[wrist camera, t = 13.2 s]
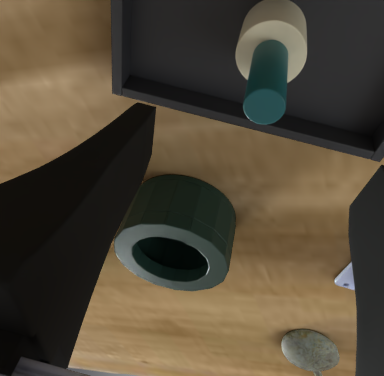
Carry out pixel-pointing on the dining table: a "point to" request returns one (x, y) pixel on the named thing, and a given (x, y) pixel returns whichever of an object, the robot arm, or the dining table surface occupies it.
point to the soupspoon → (310, 351)
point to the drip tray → (236, 83)
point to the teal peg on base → (270, 56)
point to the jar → (177, 233)
